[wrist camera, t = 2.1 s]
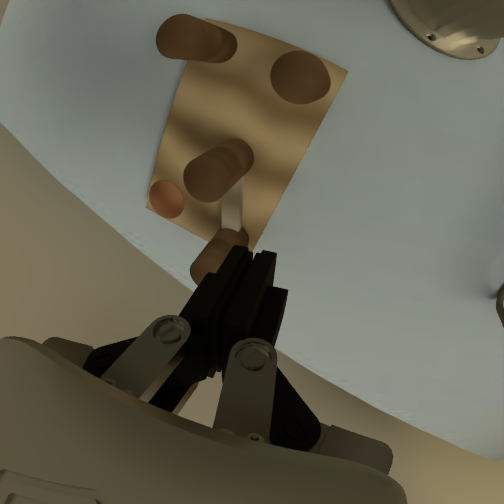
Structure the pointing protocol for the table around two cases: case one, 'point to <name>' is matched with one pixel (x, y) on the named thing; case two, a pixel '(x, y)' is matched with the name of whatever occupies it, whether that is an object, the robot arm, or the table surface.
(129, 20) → the table surface
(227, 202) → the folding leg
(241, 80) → the stool seat
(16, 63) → the table surface
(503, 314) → the newton's cradle
